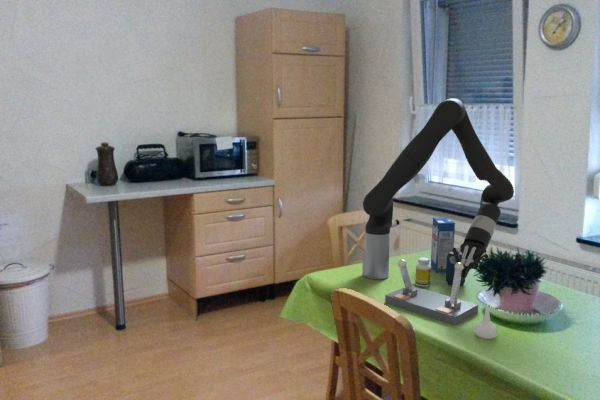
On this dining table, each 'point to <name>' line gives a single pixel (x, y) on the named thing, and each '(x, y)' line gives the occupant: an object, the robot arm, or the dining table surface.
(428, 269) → the supplement bottle
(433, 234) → the milk carton
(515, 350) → the dining table surface
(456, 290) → the lever outer
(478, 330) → the garlic bulb
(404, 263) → the lever inner
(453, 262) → the soda can
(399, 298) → the switch unit
